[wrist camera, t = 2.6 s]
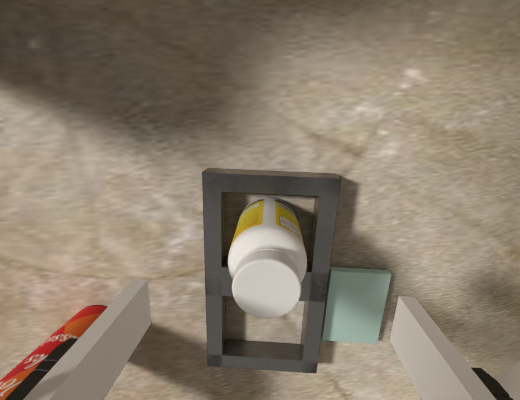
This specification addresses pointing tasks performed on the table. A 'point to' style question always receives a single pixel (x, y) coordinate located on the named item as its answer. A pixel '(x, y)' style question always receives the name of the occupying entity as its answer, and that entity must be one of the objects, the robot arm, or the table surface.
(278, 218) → the supplement bottle
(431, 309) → the table surface
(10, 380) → the coffee cup
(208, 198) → the grey rectangular frame
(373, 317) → the mat
